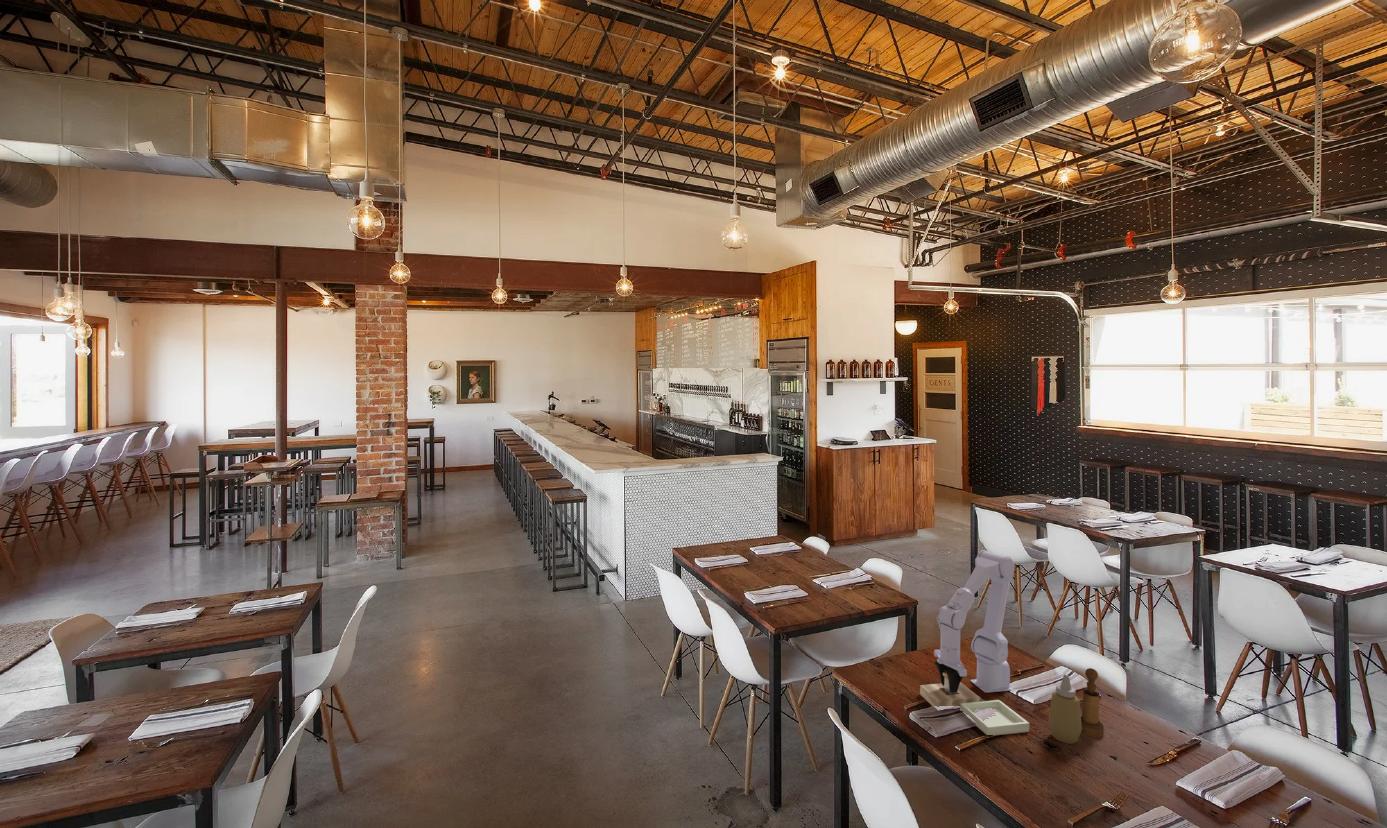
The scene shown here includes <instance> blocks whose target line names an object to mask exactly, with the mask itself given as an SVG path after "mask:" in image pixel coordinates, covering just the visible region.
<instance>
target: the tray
mask: <svg viewBox="0 0 1387 828" xmlns="http://www.w3.org/2000/svg"><path fill="white" fill-rule="evenodd" d="M985 708H992V709H996V711H998V712H994V713H996V714H994V715H996V716H992V717H987V718H989V719H985V720H984V721H983V720H982V719H981V718H979V717H978V716H977V715H976V714H975V713H974V712H972V711H974V710H976V709H985ZM960 709H961V710H962V711H963V712H964V713H966V714H967V715H969V716H970V717H971V718H972V719H973V720H974V721H975V722H976V723H977V725H975V726H976V727H977V728H978V729H979V730H981V731H982V732H983V733H984V734H985V735H993V736H1000V735H1011V734H1019V733H1020V734H1021V733H1028V732H1030V722H1028V720H1026V719H1025V718H1024V717H1022V716H1021V715H1019V714H1018V713H1017V712H1016V711H1014V710H1013V709H1011V708H1010V707H1009V706H1008V705H1006V704H1005V703H1004V702H1003V701H1001V699H994V700H993V699H992V700H983V701H980V702H971V703H961V704H960ZM960 709H959V710H960ZM992 715H993V714H992Z"/></svg>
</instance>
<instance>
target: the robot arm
mask: <svg viewBox="0 0 1387 828" xmlns="http://www.w3.org/2000/svg"><path fill="white" fill-rule="evenodd" d="M974 563H975V567H974V569H973V570H972V573H971V575H970V576H969V578H968V579H967V582H966V584H965V585H964V587H960V588H958V589H957V590H956V591H955V593H954V594H953V595H952V597H951V599H949V601H948V603H947V604H946V605H944V606H941V607H939V609H938V611H937V614H936V621H937V622H938V628H939V629H940V637H939V638H940V643H939V644H940V647H939V648H940V649H934V650H933V656H934V657H936V658H938V659H936V661H934V665H935V667H936V669H937V671H938V674H939V677H940V678H939V679H940V683H942V685H943V686H944V676H943V671H944V670H946V673H947V676H948V680H949V689H950V692H951V693H953V692H957V691H958V687H959V684H960V682H961V681H962V680H963V678H964V677H968V670H967V669H966V668H965V666H964V665H963V663H962V660H961V630H962V628H963V627H964V625H965V623H966V618H967V616H968V614H967V613H968V611H969V610H970V608H972V605H973V604H974V603H975V602H976V598H975V594H976V593H977V592H978V591H979V589H980V588H981V587H982V586H983V585H984V584H985V582H986V581H987V580H988V579H990V581H991V582H990V583H991V584H990V588H989V589H990V590H989V595H988V600H987V605H986V610H985V611H986V612H985V616H984V621H983V627H982V628H980V629H977V630H976V631H975V634H974V637H973V638H972V641H971V643H970V644H971V646H970V647H971V651H972V652H973V653H974V657H976V678H975V679H970V682H971V683H972V684H973V685H975V687H978V689H980V690H982V692H984V693H986V694H987V693H995V692H996V693H998V692H1008V691H1012V688H1011V686H1010V685H1011V681H1010V680H1011V668H1010V665H1009V662H1008V661H1007V658H1008V657H1009V649H1008V645H1009V641H1008V639H1007V638H1006V637H1005V636H1004V634H1003V633H1002V629H1003V628H1002V627H1003V623H1004V618H1005V611H1006V605H1007V600H1008V596H1009V590H1010V583H1012V582H1013V576H1014V572H1015V565H1016V564H1015V562H1014V560H1013V558H1012V557H1011V556H1008V555H1003V554H999V553H995V552H992V551H988V550H986V549H982V550H980V551H979V553H977V556H976V557H975V559H974ZM961 683H962V682H961ZM1010 688H1011V689H1010Z"/></svg>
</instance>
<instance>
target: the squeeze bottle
mask: <svg viewBox="0 0 1387 828" xmlns="http://www.w3.org/2000/svg"><path fill="white" fill-rule="evenodd" d="M1076 691H1077V690H1076V689H1075V688H1074V687H1073V686H1072V685H1071V681H1070V676H1069V675H1068V674H1063V677H1062V680H1061V683H1059V684H1057V685H1055V691H1054V692H1052V694H1051V699H1050V700H1051V701H1050V707H1049V715H1048V720H1047V723H1048V725H1049V729H1050V732H1051V735H1052V737H1053V738H1054V739H1056V740H1057V741H1059V742H1061V743H1065V744H1070V745H1071V744H1075V743H1077V741H1078V740H1079V738H1080V735H1081V734H1082V732H1081V731H1082V725H1081V716H1082V713H1081V703H1080V702H1081V701H1080V699H1079V697H1077V695H1076V693H1077V692H1076Z"/></svg>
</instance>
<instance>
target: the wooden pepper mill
mask: <svg viewBox="0 0 1387 828" xmlns="http://www.w3.org/2000/svg"><path fill="white" fill-rule="evenodd" d="M1084 674H1085V677H1086V678H1087V680H1088V682H1087V683H1086V688H1087V689H1082V690H1083V691H1082V713H1081V725H1082V731H1081V734H1084V735H1086V736H1089V737H1092V738H1093V737H1094V738H1101V737H1103V736H1104V735H1105V734H1104V730H1105V726H1104V725H1103V723H1101V721H1100V720H1099V715H1100V700H1101V699H1100V697H1101V696H1100V693H1099V692H1097V691H1096V689H1097V684H1095V681H1096V680H1097V679H1098V677H1099V673H1098V671H1097V670H1096V669H1095V668H1092V667H1091V668H1090V667H1089V668H1086V669H1085V673H1084Z"/></svg>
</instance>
